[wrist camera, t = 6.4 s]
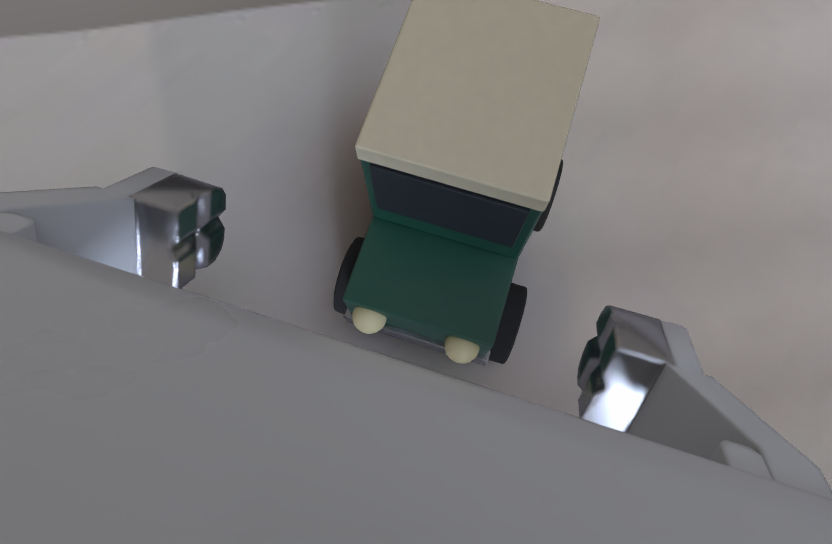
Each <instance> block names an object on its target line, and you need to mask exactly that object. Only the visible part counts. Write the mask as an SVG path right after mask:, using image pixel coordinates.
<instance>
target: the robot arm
mask: <svg viewBox="0 0 832 544" xmlns="http://www.w3.org/2000/svg"><path fill="white" fill-rule="evenodd" d="M225 210H226V194H225V192H224V190H223V189H222V188H220V187H217V186H214V185H211V184H208V183H205V182H202V181H199V180H195V179H192V178H189V177H186V176H183V175H179V174H178V173H176V172H172V171H168V170H164V169H160V168H156V167H151V168H149V169H147V170H144V171H142V172H140V173H138V174H135V175H133V176H131V177H129V178H126V179H124V180H122V181H120V182H117V183H115V184H113V185H111V186H108V187H106V188H104V189H103V188H100V187H81V188H65V189H49V190H33V191H17V192H1V193H0V544H832V491H831V489H830V487H829V485H828V483H827V481H826V479H825V478H824V476H823V474H822V472H821V470H820V468H819V467H817V466H816V465H815V464H814V463H813V462H811V461H810V460H809V459H808V458H807V457H806V456H804V455H803V454H802V453H801V452H800V451H799V450H797V449H796V448H795V447H794V446H793V445H791V444H790V443H789V442H788V441H787V440H786V439H784V438H783V437H782V436H781V435H780V434H778V433H777V432H776V431H775V430H774V429H773V428H771V427H770V426H769V425H768V424H767V423H766V422H764V421H763V420H762V419H761V418H760V417H758V416H757V415H756V414H755V413H754V412H753V411H751V410H750V409H749V408H748V407H747V406H746V405H744V404H743V403H742V402H741V401H740V400H738V399H737V398H736V397H735V396H734V395H733V394H731V393H730V392H729V391H728V390H727V389H725V388H724V387H723V386H722V385H721V384H720V383H718V382H717V381H716V380H715V379H714V378H713V377H710V376H707V375H704V373H703V371H702V368H701V366H700V363H699V360H698V358H697V355H696V353H695V350H694V347H693V345H692V342H691V339H690V337H689V334H688V332H687V329H686V328H685V327H683V326H681V325H677V324H673V323H669V322H665V321H661V320H660V319H657V318H653V317H649V316H646V315H642V314H639V313H635V312H632V311H628V310H624V309H621V308H617V307H614V306H606V307H605V308H604V309H603V311H602V312H601V314H600V316H599V318H598V321H597V323H596V325H597V336H596V337H594V338H593V339H591V340H589V341H588V342H587V344H586V347H585V349H584V351H583V354H582V357H581V360H580V364H579V367H578V375H577V381H578V386H579V387H580V388H581V390H582V393H581V395H580V397H579V399H578V403H579V417H576V416H572V415H569V414H566V413H563V412H560V411H557V410H554V409H551V408H548V407H545V406H541V405H538V404H535V403H532V402H529V401H526V400H523V399H520V398H517V397H514V396H510V395H507V394H504V393H501V392H498V391H495V390H492V389H489V388H486V387H483V386H479V385H476V384H473V383H470V382H467V381H464V380H461V379H458V378H455V377H452V376H448V375H445V374H442V373H439V372H436V371H433V370H430V369H427V368H424V367H421V366H417V365H414V364H411V363H408V362H405V361H402V360H399V359H396V358H393V357H390V356H387V355H383V354H380V353H377V352H374V351H371V350H368V349H365V348H362V347H359V346H356V345H353V344H349V343H346V342H343V341H340V340H337V339H334V338H331V337H328V336H325V335H322V334H319V333H316V332H312V331H309V330H306V329H303V328H300V327H297V326H294V325H291V324H288V323H285V322H282V321H278V320H275V319H272V318H269V317H266V316H263V315H260V314H257V313H254V312H251V311H248V310H245V309H241V308H238V307H235V306H232V305H229V304H226V303H223V302H220V301H217V300H214V299H211V298H208V297H204V296H201V295H198V294H195V293H192V292H189V291H186V290H183V289H181V288H182V287H184V286H185V285H186V284H187V283H189V282H190V281H191V280H192V279H194V278H195V274H196V270H197V269H201V268H206V267H208V266H209V265H211V264H212V263H213V262H214V261H215V260H216V258H217V256H218V255H219V253H220V251H221V249H222V245H223V241H224V231H225V228H224V226H223V224H222V223H221V221H220V219H219V216H220V215H221V214H222V213H223V212H224V211H225Z"/></svg>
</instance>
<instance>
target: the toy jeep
mask: <svg viewBox="0 0 832 544" xmlns="http://www.w3.org/2000/svg"><path fill="white" fill-rule="evenodd" d="M599 21H600V17H599V16H596V15H592V14H588V13H584V12H580V11H576V10H572V9H568V8H564V7H560V6H556V5H552V4H548V3H544V2H540V1H536V0H412V2H411V4H410V7H409V10H408V12H407V15H406V17H405V20H404V22H403V25H402V27H401V30H400V32H399V35H398V37H397V40H396V42H395V45H394V48H393V50H392V53H391V55H390V58H389V60H388V63H387V65H386V68H385V70H384V73H383V75H382V78H381V80H380V83H379V86H378V88H377V91H376V93H375V96H374V98H373V101H372V103H371V106H370V108H369V111H368V113H367V116H366V118H365V121H364V124H363V126H362V129H361V131H360V134H359V136H358V139H357V141H356V144H355V150H356V154H357V158H358V159H361V163H362V168H363V172H364V177H365V181H366V186H367V191H368V195H369V200H370V204H371V209H372V213H373V217H372V220H371V223H370V225H369V228H368V231H367V233H366V236H365V238H362V237H358V238H356V239H355V240H354V241H353V243H352V244H351V246H350V247H349V249H348V251H347V253H346V255H345V258H344V260H343V263H342V265H341V268H340V271H339V275H338V278H337V282H336V286H335V292H334V309H335V310H336V311H337V312H340V313H343V314H345V315H344V317H345V319H346V320H347V322H349V323H352V324H354V325H355V327H356V328H357V329H358V330H359V331H361V332H363V333H366V334H372V333H376V332H380V333H383V334H386V335H389V336H393V337H396V338H399V339H402V340H405V341H408V342H411V343H414V344H418V345H421V346H424V347H427V348H430V349H433V350H436V351H440V352H443V353H446V354H447V355H448V357H449V358H450V359H451V360H453V361H454V362H457V363H468V362H470V361H471V362H474V363H477V364H480V365H483V366H485V365H486V364H487V363H488V361H489V360H491V361H494V362H498V363H501V364H504V363H505V362H506V361H507V359H508V357H509V355H510V352H511V350H512V347H513V345H514V342H515V339H516V336H517V333H518V330H519V326H520V323H521V319H522V316H523V312H524V308H525V303H526V298H527V288H526V287H524V286H520V285H517V284H514V283H511V282H512V278H513V275H514V271H515V267H516V264H517V260H518V257H519V256H520V254H521V252H522V250H523V248H524V246H525V244H526V242H527V241H528V239H529V237H530V235H531V233H532V231H533V230H534V231H540V230H541V229H542V227H543V226H544V223H545V221H546V219H547V216H548V214H549V211H550V209H551V206H552V203H553V200H554V197H555V194H556V191H557V187H558V184H559V180H560V176H561V172H562V167H563V160H562V159H561V158H562V155H563V151H564V148H565V144H566V140H567V137H568V133H569V129H570V126H571V122H572V119H573V115H574V111H575V108H576V104H577V100H578V97H579V93H580V90H581V86H582V82H583V79H584V75H585V71H586V68H587V64H588V61H589V57H590V53H591V50H592V46H593V42H594V39H595V35H596V32H597V28H598V24H599Z"/></svg>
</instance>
